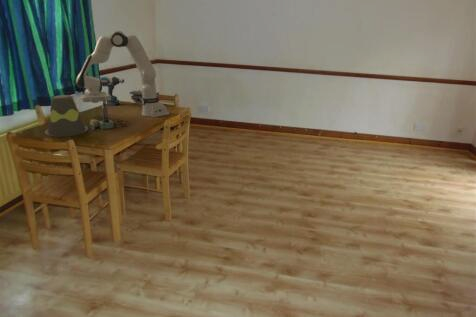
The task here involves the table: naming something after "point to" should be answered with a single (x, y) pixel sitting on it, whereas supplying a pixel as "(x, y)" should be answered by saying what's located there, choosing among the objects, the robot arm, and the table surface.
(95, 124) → the drift key
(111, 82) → the impact wrench
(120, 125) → the rack
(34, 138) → the table surface
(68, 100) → the banded grey frustum
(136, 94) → the dark grey irregular piece
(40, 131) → the table surface
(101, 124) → the socket block
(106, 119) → the drill bit
